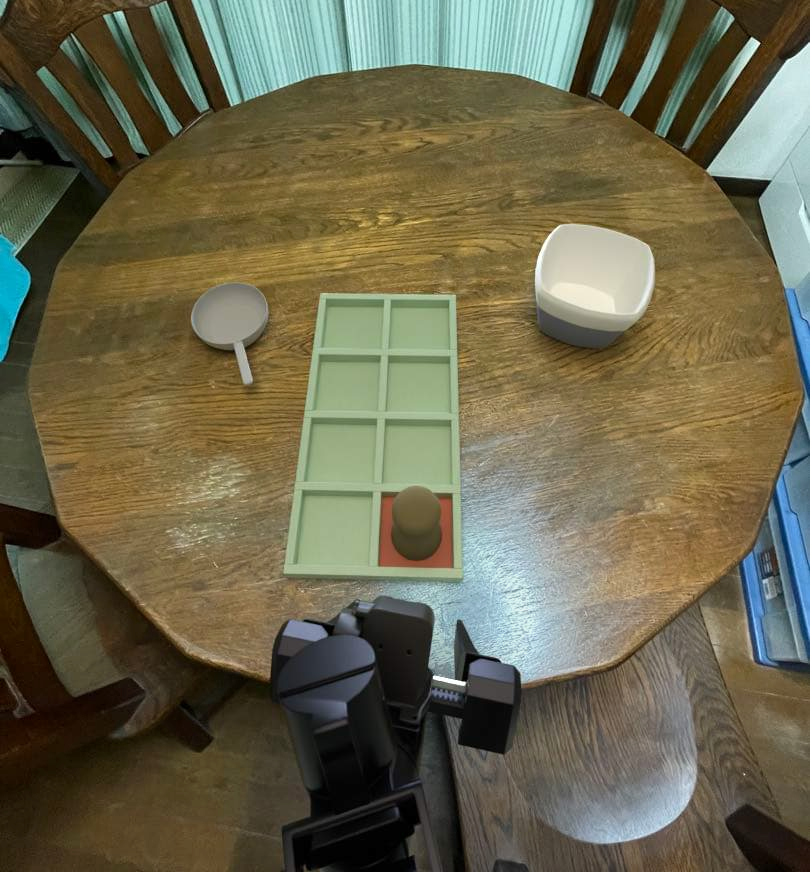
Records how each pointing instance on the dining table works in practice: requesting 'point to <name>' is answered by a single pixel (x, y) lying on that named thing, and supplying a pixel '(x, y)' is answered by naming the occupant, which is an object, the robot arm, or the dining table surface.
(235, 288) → the grey frying pan
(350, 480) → the grid
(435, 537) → the cork
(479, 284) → the dining table surface
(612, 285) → the bowl
